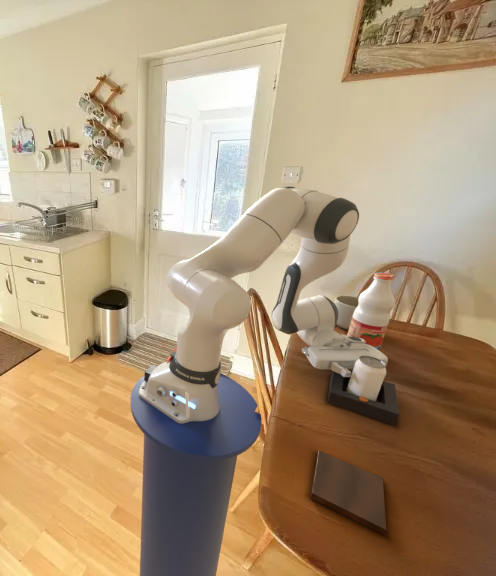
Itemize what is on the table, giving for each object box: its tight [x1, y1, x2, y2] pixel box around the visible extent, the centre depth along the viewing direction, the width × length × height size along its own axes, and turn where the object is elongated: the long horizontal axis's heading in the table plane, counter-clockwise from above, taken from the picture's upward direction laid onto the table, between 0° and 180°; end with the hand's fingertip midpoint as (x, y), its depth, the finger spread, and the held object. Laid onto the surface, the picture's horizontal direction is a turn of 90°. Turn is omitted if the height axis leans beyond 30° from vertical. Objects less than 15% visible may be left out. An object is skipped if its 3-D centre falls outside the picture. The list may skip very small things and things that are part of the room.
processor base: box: [327, 371, 400, 426], centre depth 85 cm, size 14×14×4 cm
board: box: [310, 450, 387, 536], centre depth 61 cm, size 11×12×2 cm
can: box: [345, 356, 387, 402], centre depth 84 cm, size 6×6×12 cm
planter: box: [333, 295, 359, 331], centre depth 122 cm, size 12×12×11 cm
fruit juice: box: [346, 271, 396, 351], centre depth 102 cm, size 9×9×28 cm
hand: (365, 375), depth 84 cm, fingers open, 8 cm apart
